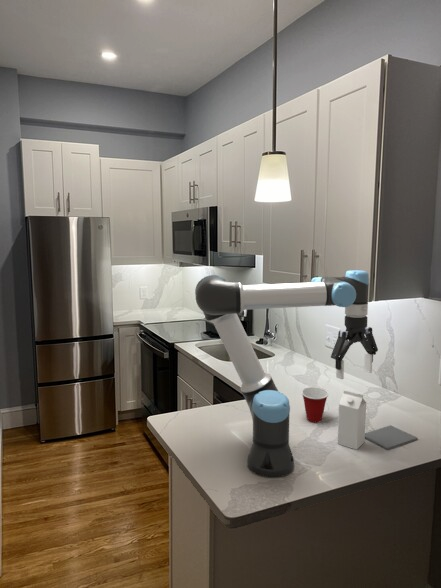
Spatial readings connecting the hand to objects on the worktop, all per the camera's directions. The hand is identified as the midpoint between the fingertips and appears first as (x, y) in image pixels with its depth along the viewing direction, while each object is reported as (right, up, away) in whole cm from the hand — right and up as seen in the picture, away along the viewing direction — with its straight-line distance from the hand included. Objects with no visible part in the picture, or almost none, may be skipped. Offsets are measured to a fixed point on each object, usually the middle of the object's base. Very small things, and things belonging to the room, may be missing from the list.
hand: (354, 375), depth 157 cm
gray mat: (+15, -25, +7) cm, 30 cm away
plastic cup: (-9, -23, +24) cm, 34 cm away
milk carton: (0, -25, +4) cm, 26 cm away
